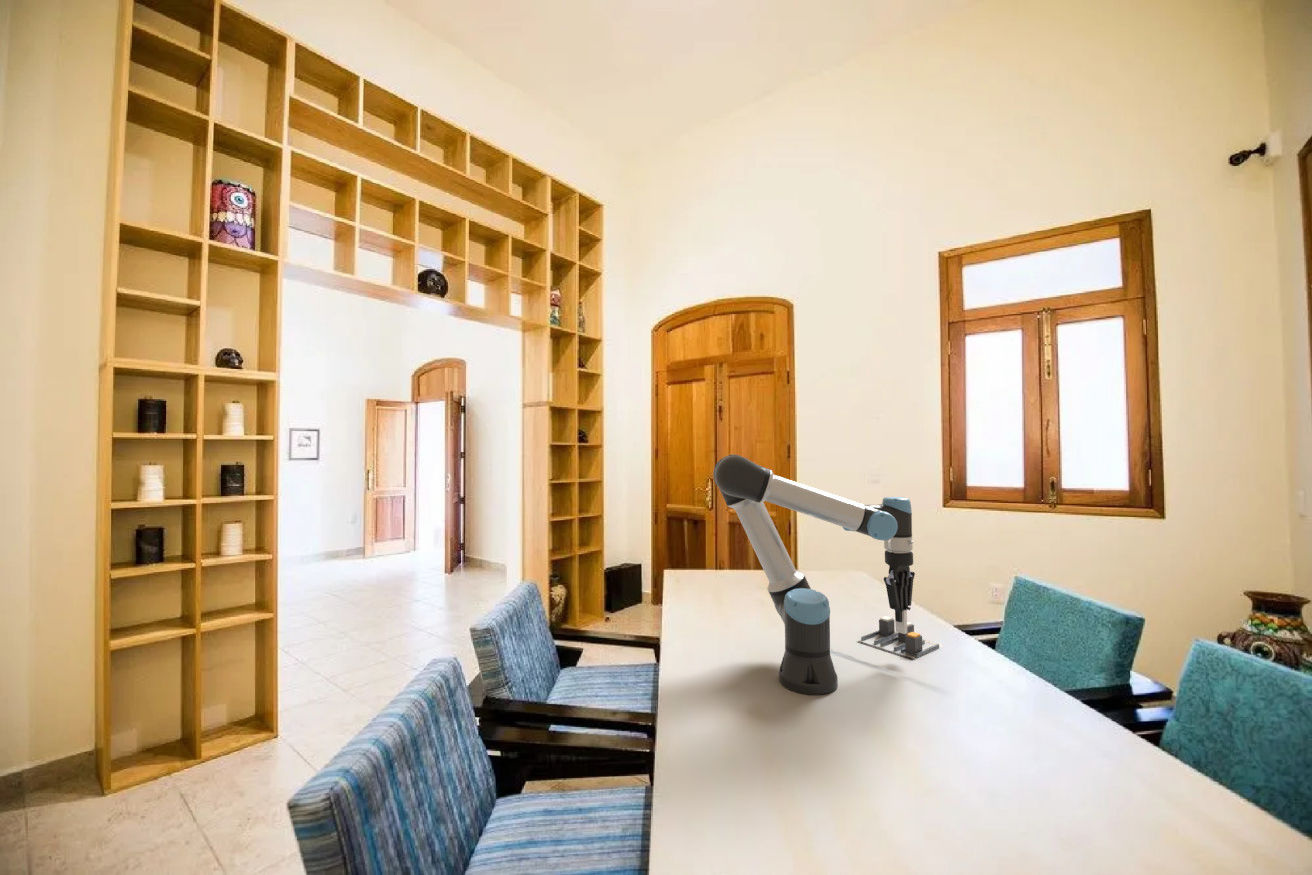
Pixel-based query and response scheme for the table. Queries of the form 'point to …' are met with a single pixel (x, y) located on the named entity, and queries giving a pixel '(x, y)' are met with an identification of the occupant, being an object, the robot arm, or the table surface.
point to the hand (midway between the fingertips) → (901, 632)
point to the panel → (893, 638)
